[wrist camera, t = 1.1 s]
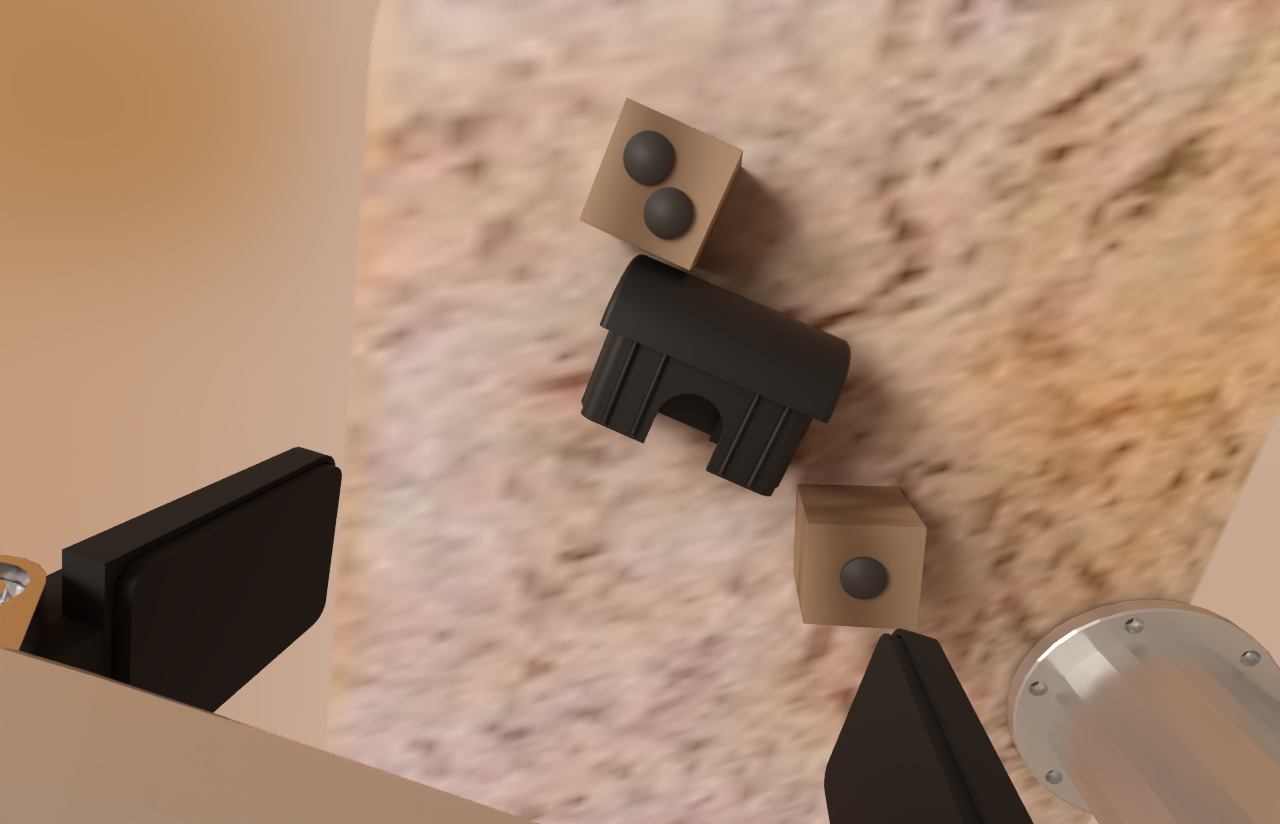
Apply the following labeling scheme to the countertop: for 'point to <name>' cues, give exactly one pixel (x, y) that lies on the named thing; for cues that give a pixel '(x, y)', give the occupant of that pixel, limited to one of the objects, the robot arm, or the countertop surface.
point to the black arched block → (713, 371)
